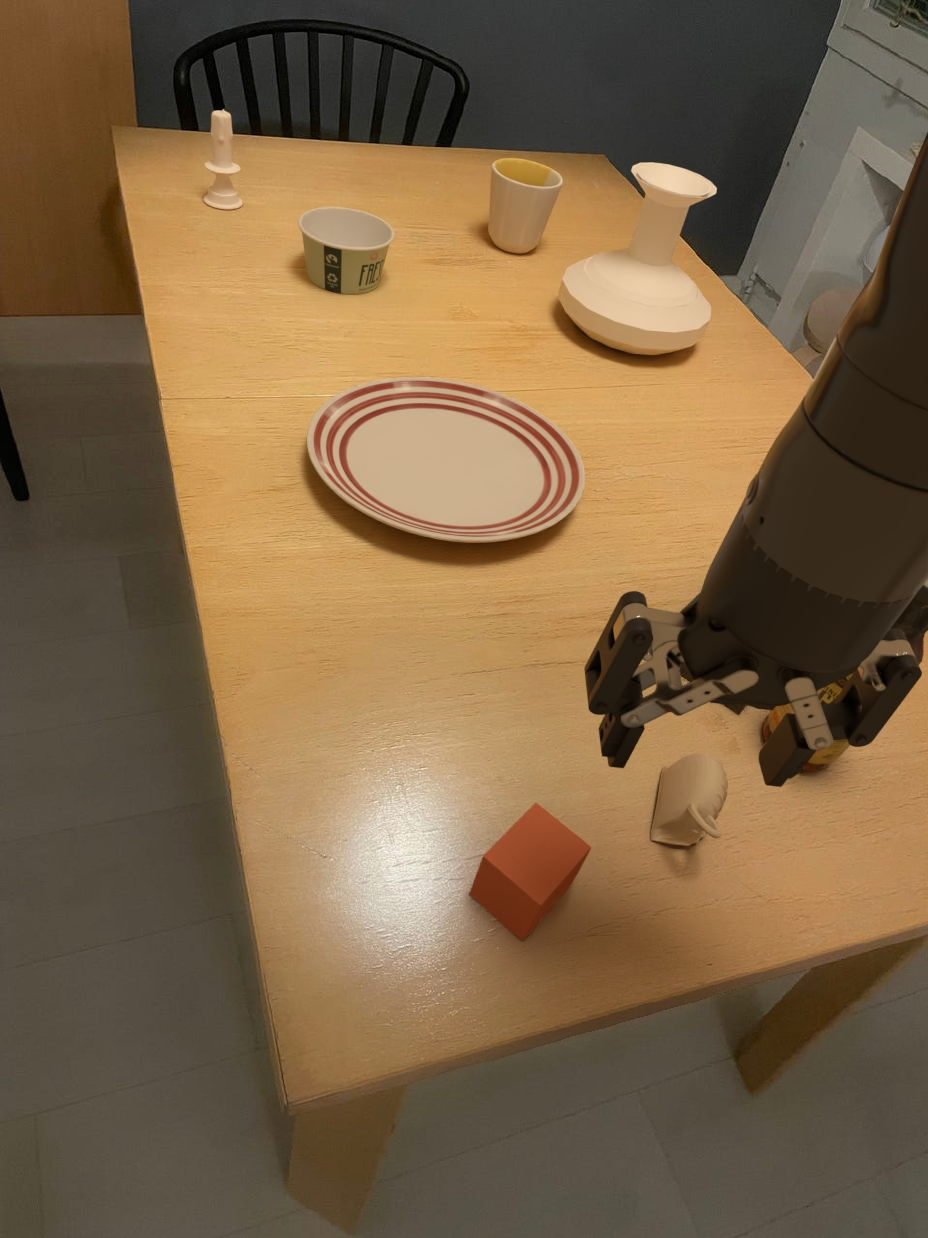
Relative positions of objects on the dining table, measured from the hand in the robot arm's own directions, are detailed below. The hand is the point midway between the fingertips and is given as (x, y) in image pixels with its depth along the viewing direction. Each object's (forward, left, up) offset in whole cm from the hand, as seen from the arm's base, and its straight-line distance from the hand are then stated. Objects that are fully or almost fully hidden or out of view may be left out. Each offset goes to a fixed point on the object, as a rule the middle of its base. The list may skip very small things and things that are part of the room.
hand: (691, 763), depth 46 cm
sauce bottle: (-4, -23, -17) cm, 29 cm away
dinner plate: (+38, -27, -17) cm, 49 cm away
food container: (+74, -48, -17) cm, 89 cm away
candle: (+99, -49, -17) cm, 111 cm away
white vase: (+44, -71, -17) cm, 85 cm away
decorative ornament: (0, -10, -17) cm, 19 cm away
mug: (+70, -79, -17) cm, 107 cm away
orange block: (+5, +3, -16) cm, 17 cm away
